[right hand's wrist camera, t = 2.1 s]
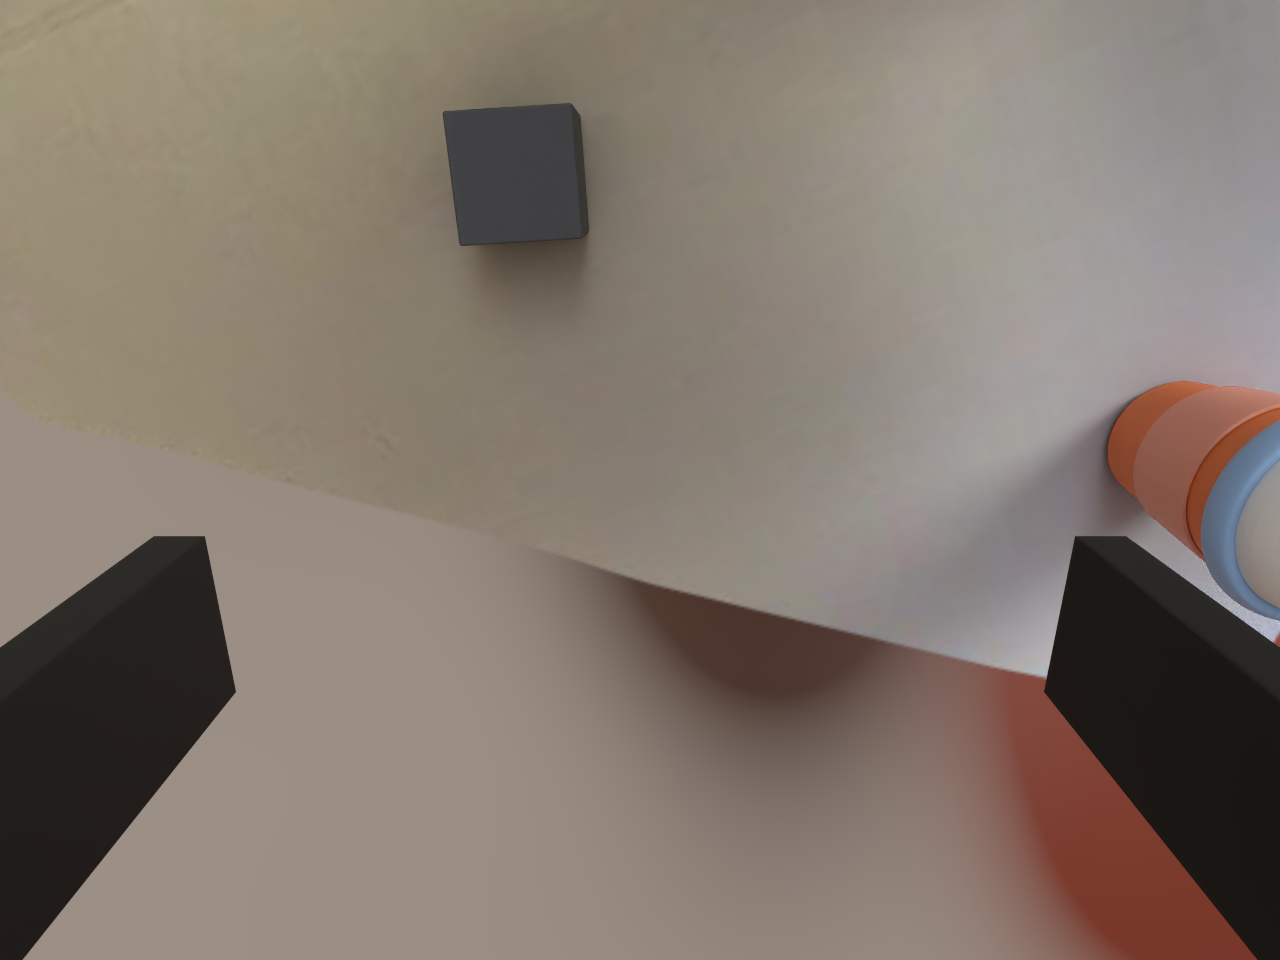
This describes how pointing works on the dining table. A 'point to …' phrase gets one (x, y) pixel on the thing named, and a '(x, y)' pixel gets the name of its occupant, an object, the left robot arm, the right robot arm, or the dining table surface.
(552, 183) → the grey rubber block
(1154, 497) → the cup with straw
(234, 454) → the dining table surface
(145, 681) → the right robot arm
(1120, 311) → the dining table surface
